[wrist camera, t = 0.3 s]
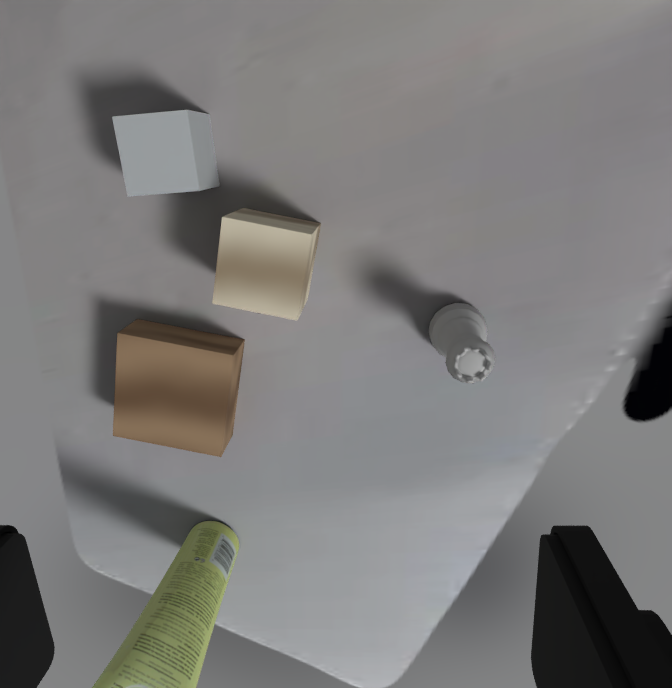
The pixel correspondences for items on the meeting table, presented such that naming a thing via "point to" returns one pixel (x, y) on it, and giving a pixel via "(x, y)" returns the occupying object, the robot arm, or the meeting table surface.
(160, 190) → the grey block
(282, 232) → the birch block
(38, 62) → the meeting table surface
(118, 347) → the walnut block
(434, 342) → the rook chess piece
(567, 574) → the robot arm
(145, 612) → the tube
